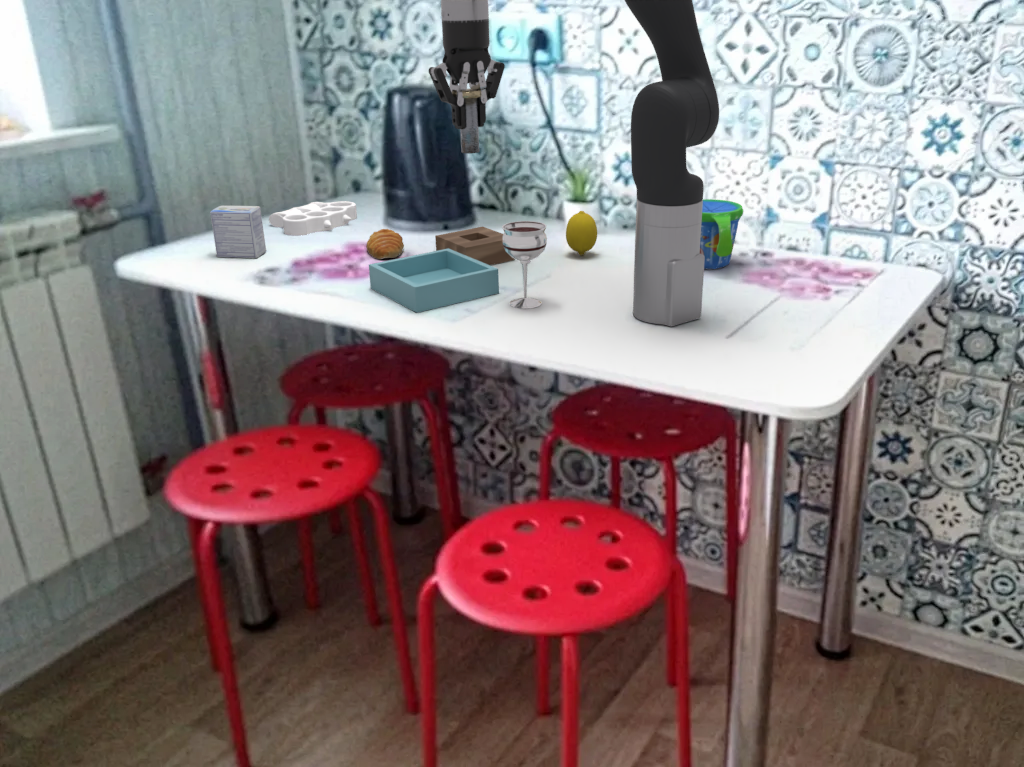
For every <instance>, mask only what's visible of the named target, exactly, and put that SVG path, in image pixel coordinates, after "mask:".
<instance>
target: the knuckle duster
mask: <svg viewBox="0 0 1024 767" xmlns="http://www.w3.org/2000/svg"><path fill="white" fill-rule="evenodd" d="M357 211H358V210H357V204H356V203H355V202H353V201H348V200H347V201H345V200H341V201H332V202H321V201H312V202H310V203H308V204H305V205H301V206H294V207H292V208H290V209H287V210H283V211H279V212H277V211H276V212H273V213H272V214H270V215H269V216H268V221H269V224H270V225H271V226H272V227H274V228H280V229H283V232H284V235H287V236H292V237H298V236H301V235H302V236H308V235H310V233H311V234H313V233H321V232H328V231H332V230H333V229H336V228H340V227H344V226H346V225H348V224H349V222H351V221H354V220H355V219H356V220H357V219H358V212H357ZM356 220H355V221H356ZM307 234H308V235H307Z"/></svg>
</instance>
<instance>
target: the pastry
mask: <svg viewBox="0 0 1024 767" xmlns="http://www.w3.org/2000/svg"><path fill="white" fill-rule="evenodd" d="M403 240H404V239H403V236H402V235H401V234H400V233H398V232H396V231H394V230H393V229H388V228H381V229H379V230H378V231H373V233H372V234H371V235H369V239H368V240H367V242H366V246H365V247H366V250H367V252H368V254H369V255H370V256H371V257H372V258H374V259H377V260H383V259H389V258H391V259H392V258H395V259H398V257H399V256H400V255H402V253H403V250H404V247H405V244H404V241H403ZM398 255H399V256H398Z"/></svg>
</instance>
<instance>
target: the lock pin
mask: <svg viewBox="0 0 1024 767" xmlns="http://www.w3.org/2000/svg"><path fill="white" fill-rule="evenodd" d="M456 96H457V91H455V97H456ZM481 96H482V94H481V90H477V89H471V88H467V90H466V91H465V92H463V98H464V103H463V105H462V106H464V109H465V129H460V147H461V148H460V149H461V153H462V154H477V153H480V138H479V137H480V135H479V134H480V132H479V127H478V101H477V98H478V97H481Z"/></svg>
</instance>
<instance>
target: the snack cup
mask: <svg viewBox="0 0 1024 767" xmlns="http://www.w3.org/2000/svg"><path fill="white" fill-rule="evenodd" d="M743 215H744V209H743V206H742V205H741V204H740V203H738V202H734V201H730V200H726V199H725V200H724V199H712V198H710V199H709V198H708V199H707V198H706V199H705V198H703V206H702V220H701V238H700V254H703V255H704V257H705V261H704V270H716V269H721V268H722V269H723V268H724V267H726V266H729V265H730V262H731V258H732V254H733V250H734V246H735V241H736V236H737V230H738V227H739V222H740V219H741V217H742V216H743Z"/></svg>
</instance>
